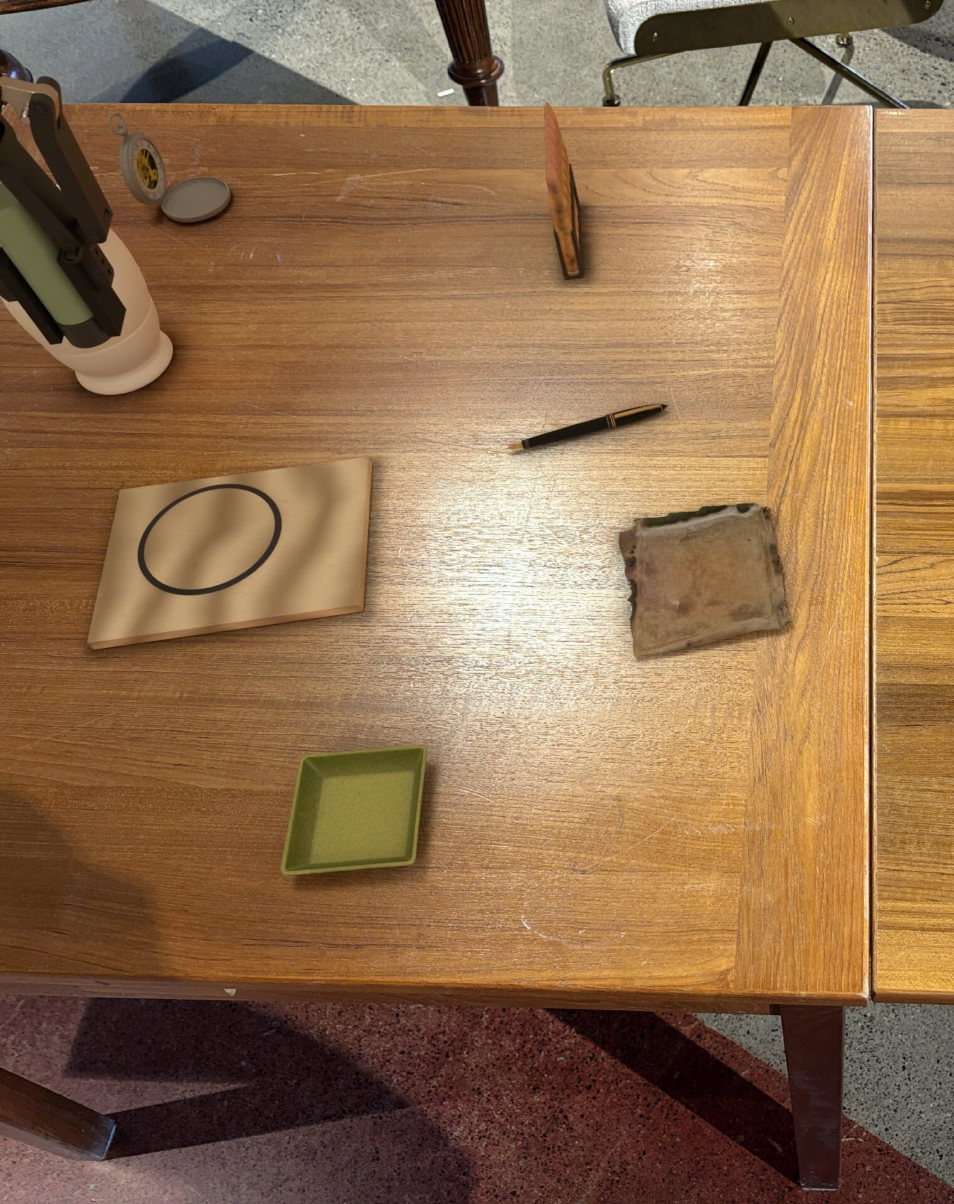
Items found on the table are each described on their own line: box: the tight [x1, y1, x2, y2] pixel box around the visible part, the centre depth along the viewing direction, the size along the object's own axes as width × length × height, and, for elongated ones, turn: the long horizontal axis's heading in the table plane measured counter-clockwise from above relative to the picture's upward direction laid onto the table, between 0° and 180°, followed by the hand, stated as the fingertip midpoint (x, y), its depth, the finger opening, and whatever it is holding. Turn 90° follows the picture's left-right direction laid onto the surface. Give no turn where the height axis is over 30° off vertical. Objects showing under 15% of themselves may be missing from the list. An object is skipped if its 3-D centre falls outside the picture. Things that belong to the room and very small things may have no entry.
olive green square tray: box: [279, 744, 428, 876], centre depth 78 cm, size 9×9×2 cm
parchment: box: [618, 502, 793, 657], centre depth 89 cm, size 12×13×1 cm
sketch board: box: [86, 456, 373, 650], centre depth 91 cm, size 20×15×1 cm
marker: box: [0, 182, 111, 348], centre depth 76 cm, size 3×3×11 cm
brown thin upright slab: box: [543, 101, 585, 280], centre depth 107 cm, size 11×2×12 cm, turn 8°
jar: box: [0, 184, 174, 396], centre depth 98 cm, size 11×10×15 cm
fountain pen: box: [502, 403, 669, 451], centre depth 98 cm, size 14×1×2 cm, turn 110°
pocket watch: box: [108, 112, 232, 223], centre depth 113 cm, size 8×8×10 cm
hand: (88, 326), depth 80 cm, fingers closed on marker, 3 cm apart
